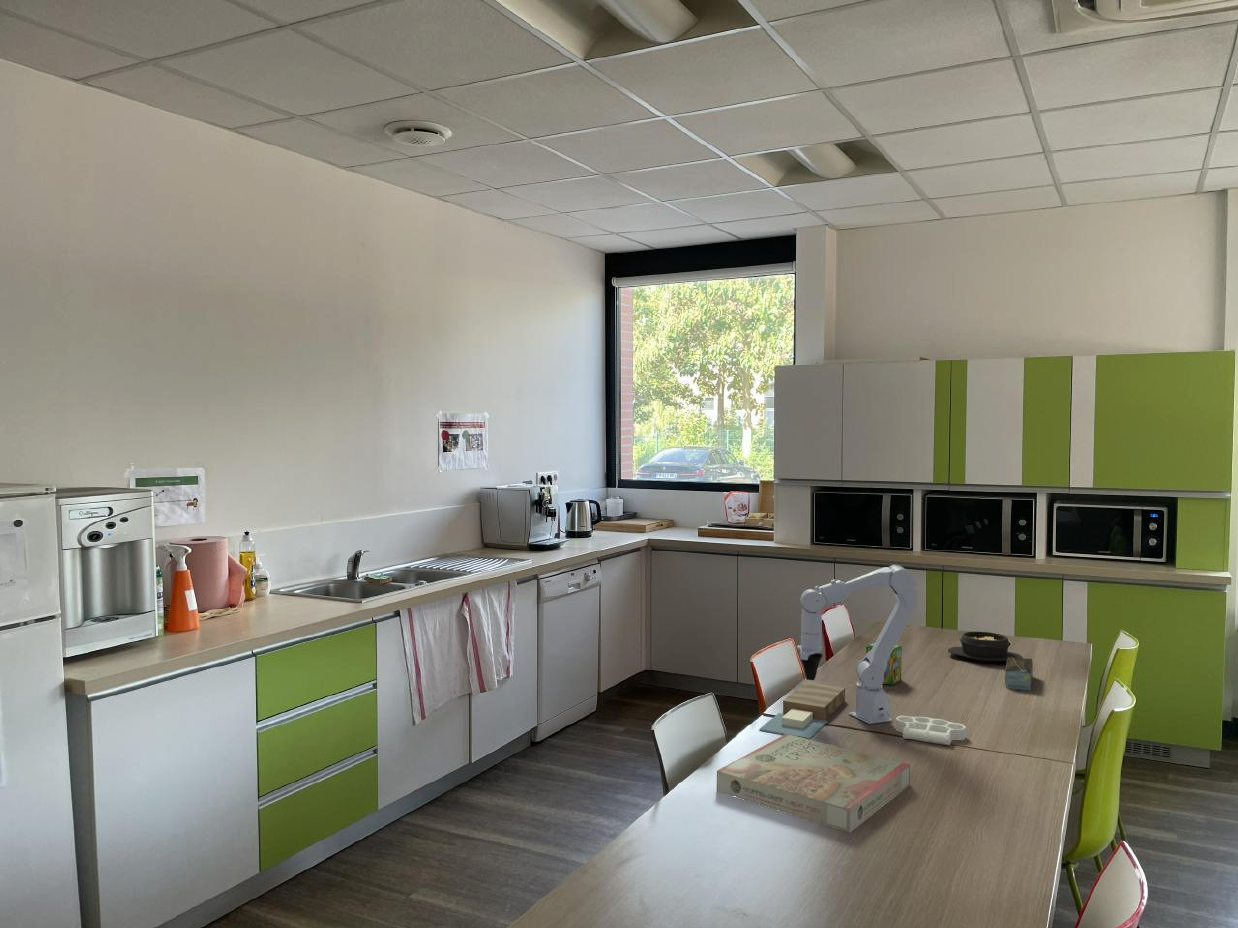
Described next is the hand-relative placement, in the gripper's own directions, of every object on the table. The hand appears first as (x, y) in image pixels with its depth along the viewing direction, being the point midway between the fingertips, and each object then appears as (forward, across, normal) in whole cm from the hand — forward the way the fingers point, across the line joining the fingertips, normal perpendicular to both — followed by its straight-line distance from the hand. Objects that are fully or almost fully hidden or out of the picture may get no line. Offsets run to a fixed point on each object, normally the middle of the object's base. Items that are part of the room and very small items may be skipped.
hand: (810, 679), depth 258 cm
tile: (+10, +9, -1) cm, 13 cm away
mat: (+10, +12, -1) cm, 16 cm away
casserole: (+11, -94, +36) cm, 101 cm away
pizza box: (+11, +51, +16) cm, 55 cm away
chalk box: (+11, -47, +11) cm, 50 cm away
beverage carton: (+11, -67, +50) cm, 84 cm away
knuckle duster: (+11, 0, +33) cm, 35 cm away
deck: (+10, -8, -1) cm, 13 cm away
